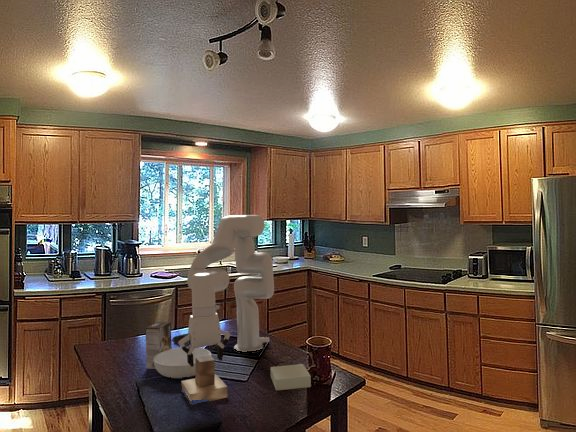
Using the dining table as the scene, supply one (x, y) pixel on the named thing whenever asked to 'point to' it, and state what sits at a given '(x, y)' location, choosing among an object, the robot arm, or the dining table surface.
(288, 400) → the dining table surface
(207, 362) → the walnut block
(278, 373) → the sage riser block
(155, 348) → the coffee box
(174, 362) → the serving bowl
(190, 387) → the maple riser block
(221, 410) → the dining table surface
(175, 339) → the dark slate chunk
